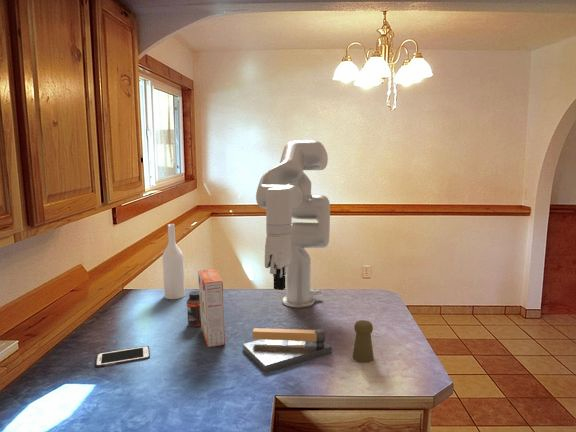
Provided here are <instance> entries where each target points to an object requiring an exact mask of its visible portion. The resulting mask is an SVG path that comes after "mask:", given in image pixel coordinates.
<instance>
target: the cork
mask: <svg viewBox="0 0 576 432" xmlns="http://www.w3.org/2000/svg"><path fill="white" fill-rule="evenodd" d="M353 327H354V328H353V329H354V331H355V338H354V339H355V340H354V345H353V352H352V359H353V361H355V362H357V363H360V364H368V363H371V362H373V361H374V358H375V357H374V350H373V339H372V333H373V330H374V326H373V324H372V322H371V321H369V320H366V319H365V320H364V319H363V320H357V321H355V323H354V326H353Z"/></svg>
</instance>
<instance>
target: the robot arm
mask: <svg viewBox="0 0 576 432" xmlns="http://www.w3.org/2000/svg"><path fill="white" fill-rule="evenodd" d="M328 160H329V158H328V152H327V149H326V148H325V146H324V144H323V143H322V142H320V141H318V140H293V141H292V140H291V141H289V142H287V143H286V144H285V145H284V147H283V149H282V152H281V156H280V161H279V164H277V165H276V166H273V167H272V168H271V169H269V170H268V171H266V172H265V173H264V174H263V175H262V176H261V178H260V179H259V183H258V186H257V188H256V192H255V193H256V195H255V200H256V203H257V206H258V207H259V208H261V209H264V210H265V215H266V217H265V219H266V220H265V221H266V222H265V223H266V224H265V226H266V229H265V230H266V231H265V232H266V238H265V245H264V267H265V269H269V273H270V274H271V275H272V276H273V289H274V290H278V291H284V290H285V291H286V292H285V293H286V294H285V296H284V297H282V300H281V301H282V304H283V305H284V306H287V307H290V308H306V307H307V308H308V307H310V306H312V305H314V304H315V296H319V295H322V290H321V289H314V288H312V287H311V285H312V284H311V283H312V282H311V277H312V276H311V270H312V269H311V267H312V266H311V257H310V254H309V253H308V251H307V250H306V249H309V248H310V249H325V248H326V247H327V246H328V245H329V242H330V223H331V222H330V221H331V220H330V219H331V205H330V200H329V197H328V196H326V195H323V194H312V181H311V180H310V178H309V177H308V175H307V174H306V173H305V172H304V171H323V170H325V169H326V168H327V166H328ZM293 219H294V220H295V219H296V220H315V221H317V222H302V221H301V222H298V221H297V222H293V221H292V220H293Z"/></svg>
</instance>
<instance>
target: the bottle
mask: <svg viewBox="0 0 576 432" xmlns="http://www.w3.org/2000/svg"><path fill="white" fill-rule="evenodd" d="M175 227H176V226H175V223H168V224H167V237H168V238H167V239H168V243H167V246H166V247H165V249H164V251H163V253H162V270H163V271H162V275H163V287H164V288H163V289H164V290H163V291H164V298H165V299H167V300H179V299H182V298H184V297H185V295H186V290H185V267H184V253H183V252H182V250H181V249H180V247H179V246H178V244H177V241H176V229H175Z"/></svg>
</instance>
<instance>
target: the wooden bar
mask: <svg viewBox="0 0 576 432" xmlns="http://www.w3.org/2000/svg"><path fill="white" fill-rule="evenodd" d="M326 332H327V331H326V330H325V329H324V328H318V329H307V330H300V329H294V328H293V329H290V328H287V329H286V328H268V327H267V328H266V327H265V328H262V327H261V328H259V327H253V329H252V339H253V340H261V339H266V340H295V341H317V342H326V340H327V339H326V335H327V333H326Z"/></svg>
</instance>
